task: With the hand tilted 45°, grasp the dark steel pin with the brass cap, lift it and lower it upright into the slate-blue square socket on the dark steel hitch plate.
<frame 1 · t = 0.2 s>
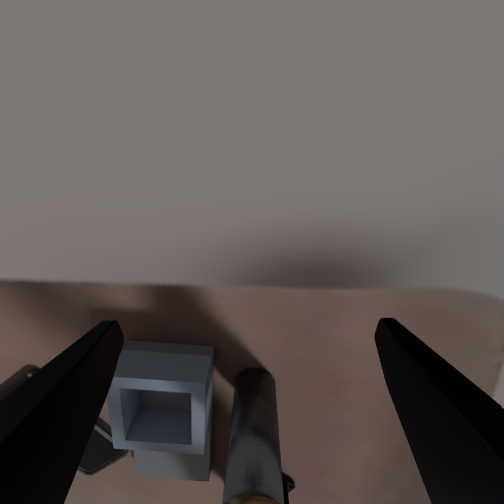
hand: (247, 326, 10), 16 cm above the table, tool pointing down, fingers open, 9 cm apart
phone: (69, 418, 33), on the table
pin: (255, 384, 30), on the table
hitch socket: (172, 376, 30), on the table
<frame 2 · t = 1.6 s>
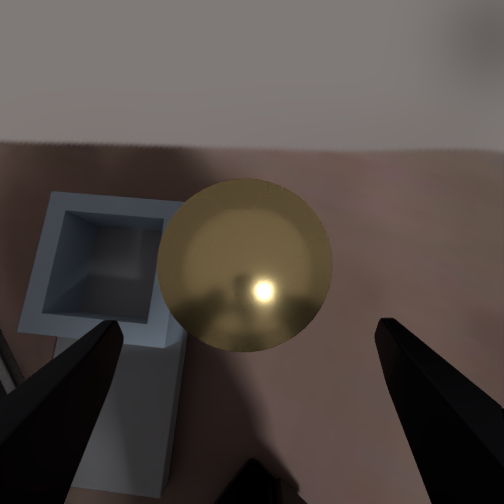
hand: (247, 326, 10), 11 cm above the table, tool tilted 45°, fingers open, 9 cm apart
pin: (254, 287, 21), on the table
hitch socket: (140, 273, 22), on the table
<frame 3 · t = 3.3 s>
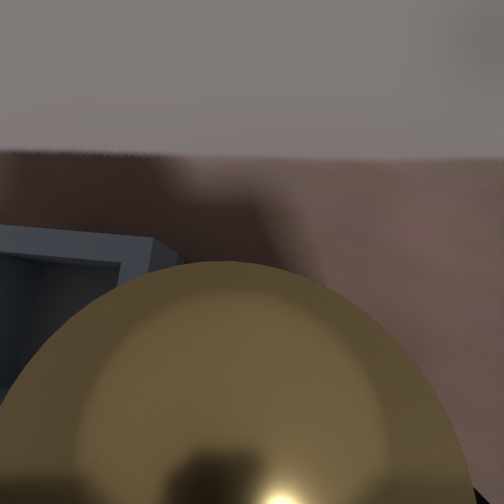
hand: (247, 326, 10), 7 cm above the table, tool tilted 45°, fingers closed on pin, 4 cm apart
pin: (252, 344, 16), on the table, touching gripper
hitch socket: (100, 324, 16), on the table
when the fingers open (9 cm above the table, at t = 6.9 s): pin stays where it is, resting on hitch socket.
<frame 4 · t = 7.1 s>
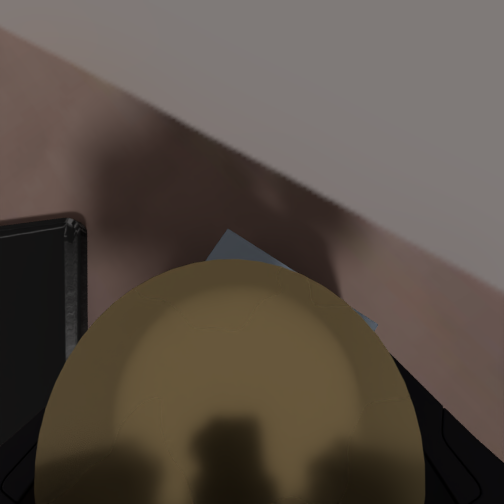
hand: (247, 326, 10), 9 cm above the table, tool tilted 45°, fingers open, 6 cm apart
phone: (36, 330, 19), on the table
pin: (253, 343, 17), point 2 cm above the table, touching hitch socket
hitch socket: (254, 339, 18), on the table
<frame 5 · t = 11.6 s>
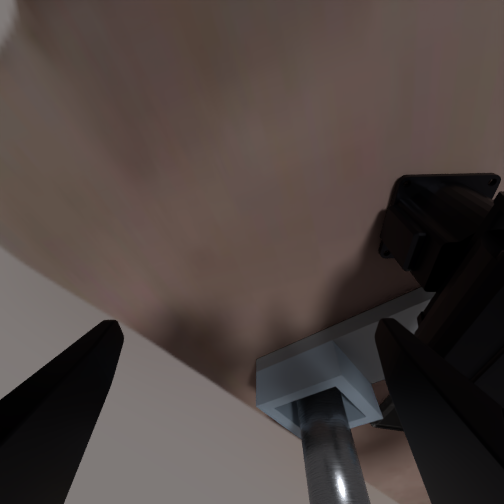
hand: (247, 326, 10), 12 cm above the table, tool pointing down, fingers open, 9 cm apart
phone: (421, 390, 34), on the table
pin: (314, 378, 29), point 2 cm above the table, touching hitch socket
hitch socket: (312, 365, 30), on the table
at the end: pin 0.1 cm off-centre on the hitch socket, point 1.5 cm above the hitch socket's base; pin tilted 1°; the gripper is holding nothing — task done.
